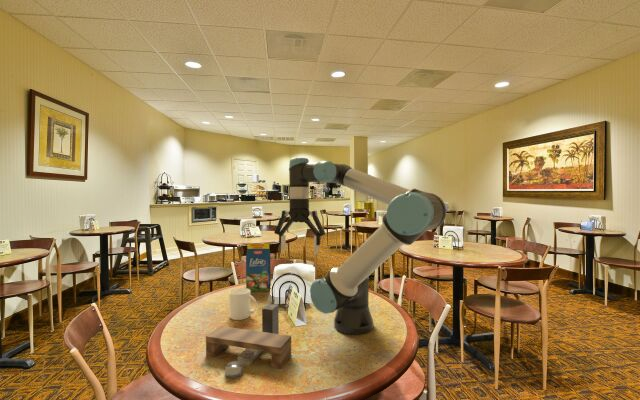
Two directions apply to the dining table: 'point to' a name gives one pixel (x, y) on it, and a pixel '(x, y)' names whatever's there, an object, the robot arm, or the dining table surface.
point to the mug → (241, 303)
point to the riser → (250, 343)
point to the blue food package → (258, 267)
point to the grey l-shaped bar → (268, 325)
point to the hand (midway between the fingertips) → (299, 252)
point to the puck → (234, 369)
